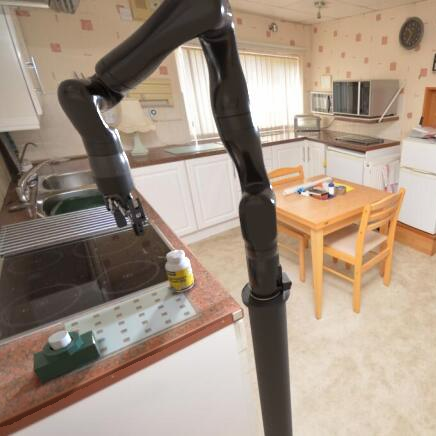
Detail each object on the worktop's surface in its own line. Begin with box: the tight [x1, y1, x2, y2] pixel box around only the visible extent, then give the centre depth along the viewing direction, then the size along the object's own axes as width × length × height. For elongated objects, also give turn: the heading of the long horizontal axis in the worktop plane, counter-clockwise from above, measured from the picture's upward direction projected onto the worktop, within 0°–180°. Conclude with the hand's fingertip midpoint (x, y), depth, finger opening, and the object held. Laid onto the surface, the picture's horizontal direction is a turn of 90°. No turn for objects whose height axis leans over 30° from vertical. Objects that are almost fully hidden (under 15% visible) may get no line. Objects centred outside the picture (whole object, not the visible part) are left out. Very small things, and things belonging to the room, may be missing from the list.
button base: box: [32, 329, 101, 384], centre depth 64 cm, size 10×6×6 cm, turn 131°
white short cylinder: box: [47, 330, 72, 350], centre depth 62 cm, size 3×3×2 cm
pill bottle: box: [164, 249, 195, 293], centre depth 86 cm, size 6×6×12 cm
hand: (131, 230), depth 76 cm, fingers open, 8 cm apart
